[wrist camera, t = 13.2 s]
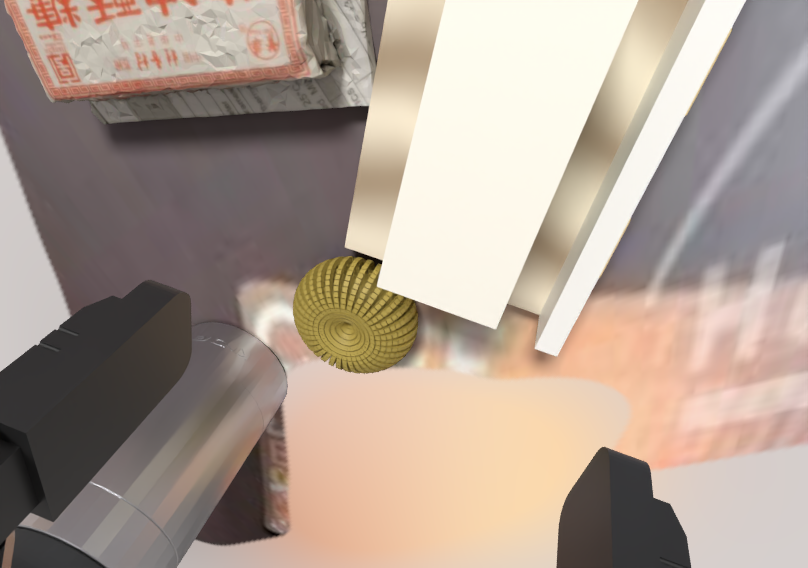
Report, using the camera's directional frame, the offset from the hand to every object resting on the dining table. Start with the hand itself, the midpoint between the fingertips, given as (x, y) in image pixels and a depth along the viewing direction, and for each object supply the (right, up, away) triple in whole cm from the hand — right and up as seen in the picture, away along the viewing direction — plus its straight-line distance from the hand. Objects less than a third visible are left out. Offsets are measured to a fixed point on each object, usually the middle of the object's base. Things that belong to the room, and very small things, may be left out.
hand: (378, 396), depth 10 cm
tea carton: (+5, +10, +15) cm, 19 cm away
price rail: (+11, +8, +15) cm, 20 cm away
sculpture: (-2, +1, +26) cm, 26 cm away
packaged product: (-10, +16, +19) cm, 27 cm away
